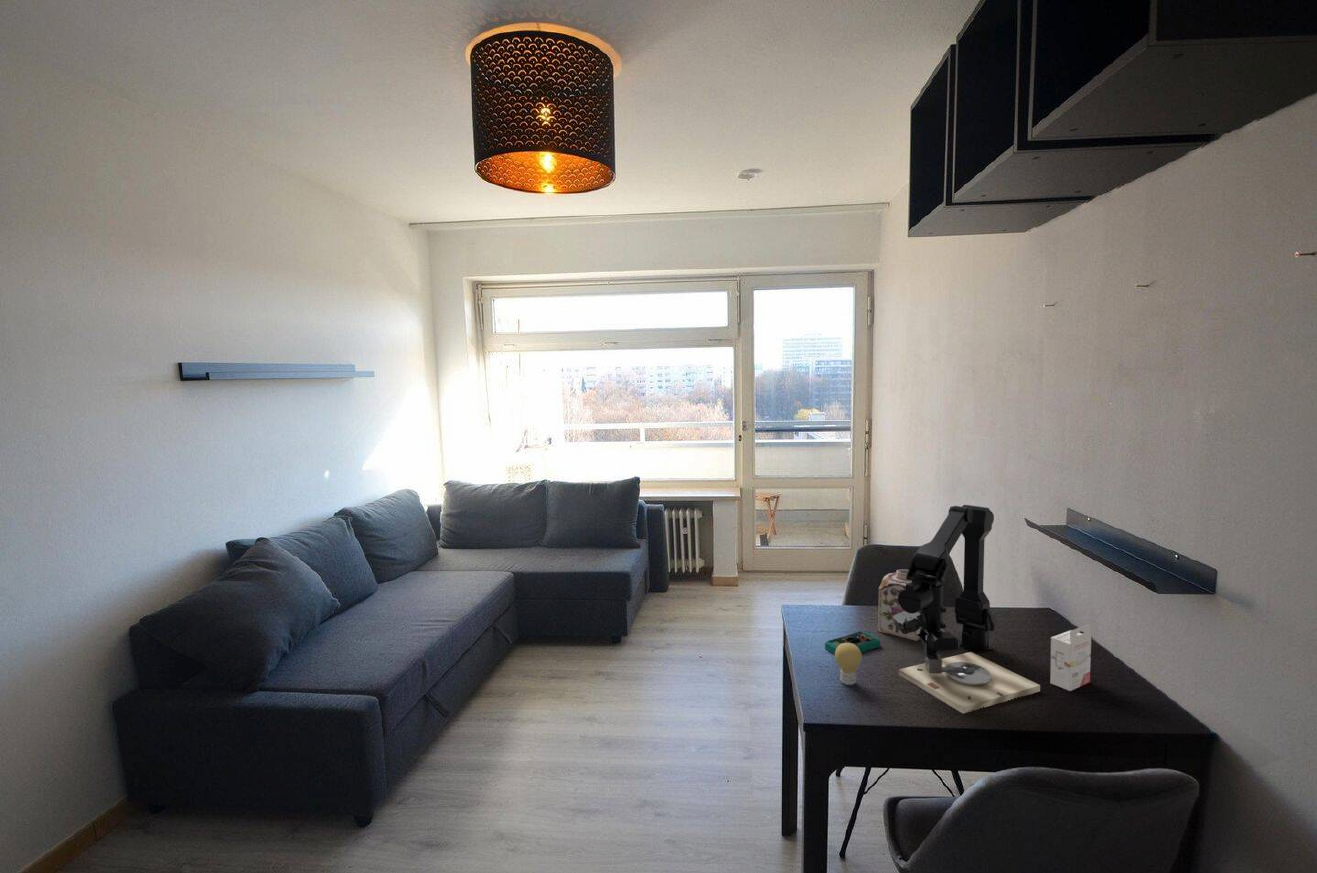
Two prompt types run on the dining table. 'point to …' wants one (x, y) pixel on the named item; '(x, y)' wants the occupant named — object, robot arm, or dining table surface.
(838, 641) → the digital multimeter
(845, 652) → the light bulb
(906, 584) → the robot arm
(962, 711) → the dial board
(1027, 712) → the dining table surface
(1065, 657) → the ink cartridge box
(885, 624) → the decorative jar
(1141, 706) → the dining table surface
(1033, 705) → the dining table surface
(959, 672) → the dial
